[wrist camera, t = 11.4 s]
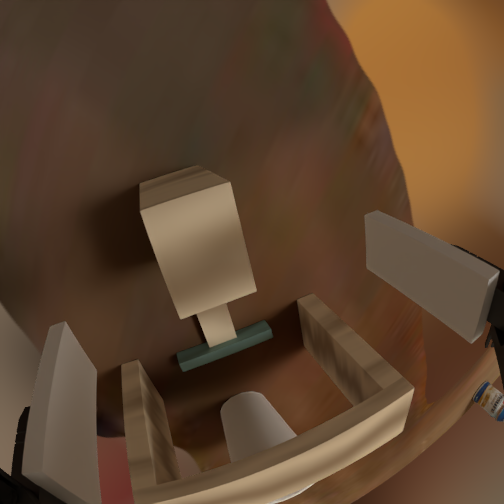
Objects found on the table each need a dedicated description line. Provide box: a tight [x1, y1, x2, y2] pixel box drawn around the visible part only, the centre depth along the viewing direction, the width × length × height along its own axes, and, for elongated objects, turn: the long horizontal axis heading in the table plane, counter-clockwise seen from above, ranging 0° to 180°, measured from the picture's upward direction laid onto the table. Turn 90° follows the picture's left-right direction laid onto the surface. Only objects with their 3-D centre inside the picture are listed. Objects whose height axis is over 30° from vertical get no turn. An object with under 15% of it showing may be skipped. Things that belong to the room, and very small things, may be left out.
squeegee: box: [139, 165, 273, 372], centre depth 24 cm, size 18×10×10 cm, turn 13°
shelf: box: [121, 293, 414, 504], centre depth 26 cm, size 7×22×16 cm, turn 103°
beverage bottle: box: [473, 381, 504, 421], centre depth 70 cm, size 8×8×20 cm
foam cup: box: [220, 391, 314, 504], centre depth 32 cm, size 10×9×13 cm
